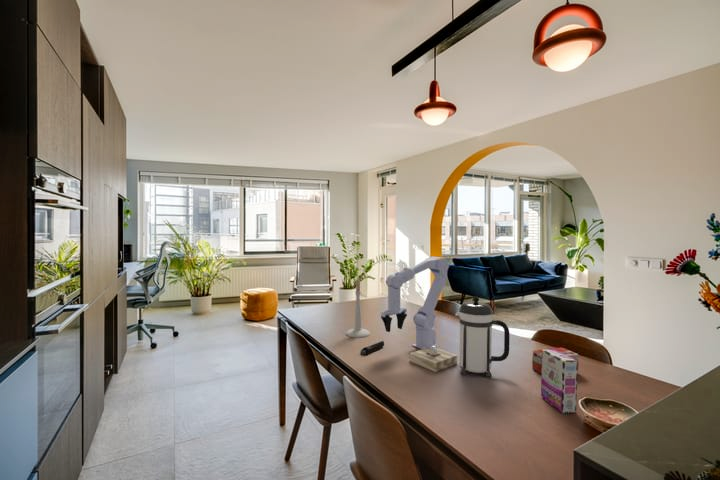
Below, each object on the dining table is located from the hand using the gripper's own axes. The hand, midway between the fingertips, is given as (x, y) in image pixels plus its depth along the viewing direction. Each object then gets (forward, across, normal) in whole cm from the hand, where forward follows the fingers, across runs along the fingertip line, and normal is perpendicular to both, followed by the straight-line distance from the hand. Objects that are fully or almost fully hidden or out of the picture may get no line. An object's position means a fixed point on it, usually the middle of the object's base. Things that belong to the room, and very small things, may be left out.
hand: (393, 330), depth 159 cm
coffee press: (+10, +11, -37) cm, 40 cm away
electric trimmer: (+10, -7, +7) cm, 14 cm away
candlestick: (+10, +3, +31) cm, 33 cm away
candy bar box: (+10, +8, -68) cm, 69 cm away
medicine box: (+10, +35, -56) cm, 67 cm away
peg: (+10, +4, -20) cm, 22 cm away
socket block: (+10, +4, -20) cm, 23 cm away
